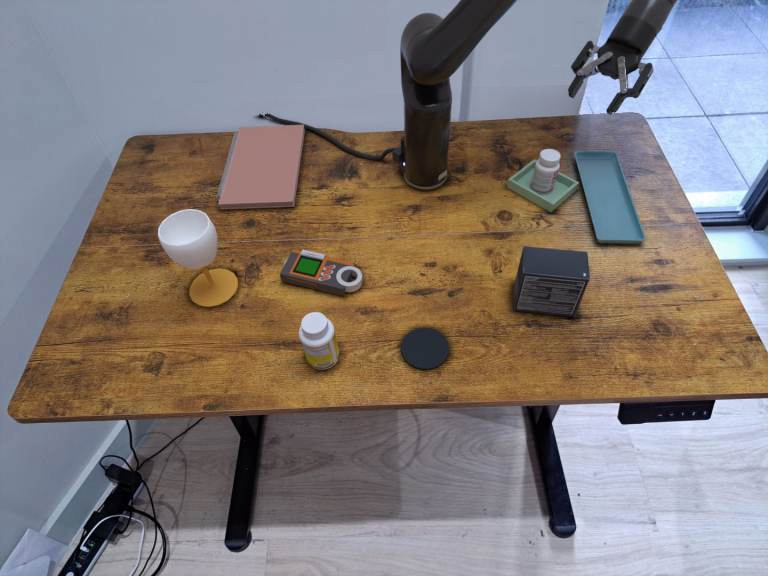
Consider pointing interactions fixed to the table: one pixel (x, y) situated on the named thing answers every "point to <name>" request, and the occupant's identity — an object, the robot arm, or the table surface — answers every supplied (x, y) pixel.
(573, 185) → the tray
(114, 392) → the table surface
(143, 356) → the table surface
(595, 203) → the shallow long dish
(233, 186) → the notebook
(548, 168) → the pill bottle
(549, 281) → the small box
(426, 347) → the coaster
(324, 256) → the electronic device
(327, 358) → the supplement bottle
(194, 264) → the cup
